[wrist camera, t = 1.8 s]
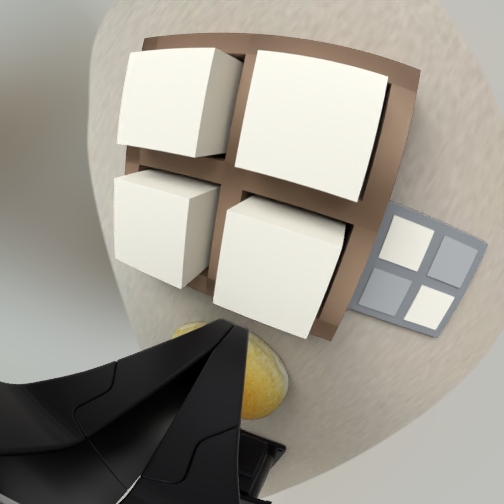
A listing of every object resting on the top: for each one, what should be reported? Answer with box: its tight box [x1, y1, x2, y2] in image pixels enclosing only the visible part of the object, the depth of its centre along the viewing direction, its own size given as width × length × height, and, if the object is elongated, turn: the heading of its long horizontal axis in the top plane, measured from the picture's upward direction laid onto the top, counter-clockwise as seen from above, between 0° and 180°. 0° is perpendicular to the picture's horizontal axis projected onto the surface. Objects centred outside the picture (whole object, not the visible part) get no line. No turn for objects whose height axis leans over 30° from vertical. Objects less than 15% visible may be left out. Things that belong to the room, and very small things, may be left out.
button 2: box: [235, 50, 388, 202], centre depth 9 cm, size 4×4×3 cm
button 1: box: [213, 194, 346, 339], centre depth 12 cm, size 4×4×3 cm
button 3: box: [114, 168, 221, 289], centre depth 13 cm, size 4×4×3 cm
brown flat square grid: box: [125, 33, 421, 341], centre depth 13 cm, size 13×13×2 cm
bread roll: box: [171, 321, 288, 419], centre depth 18 cm, size 8×9×4 cm
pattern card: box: [347, 200, 488, 338], centre depth 12 cm, size 6×6×1 cm
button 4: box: [117, 48, 244, 158], centre depth 11 cm, size 4×4×3 cm
